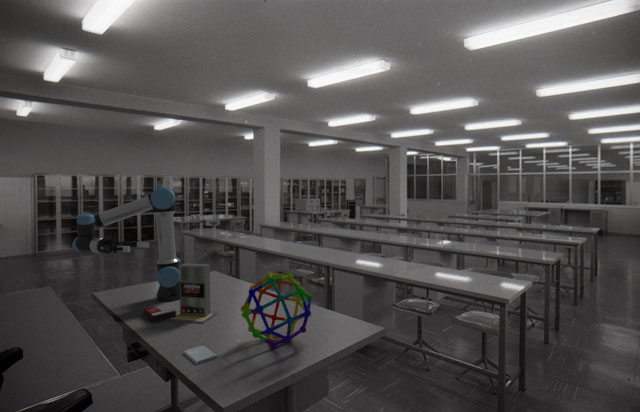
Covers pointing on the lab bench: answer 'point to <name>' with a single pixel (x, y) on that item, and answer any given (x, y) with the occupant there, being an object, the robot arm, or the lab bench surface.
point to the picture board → (191, 318)
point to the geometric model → (289, 320)
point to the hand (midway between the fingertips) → (139, 246)
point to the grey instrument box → (195, 289)
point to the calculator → (159, 313)
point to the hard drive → (200, 354)
